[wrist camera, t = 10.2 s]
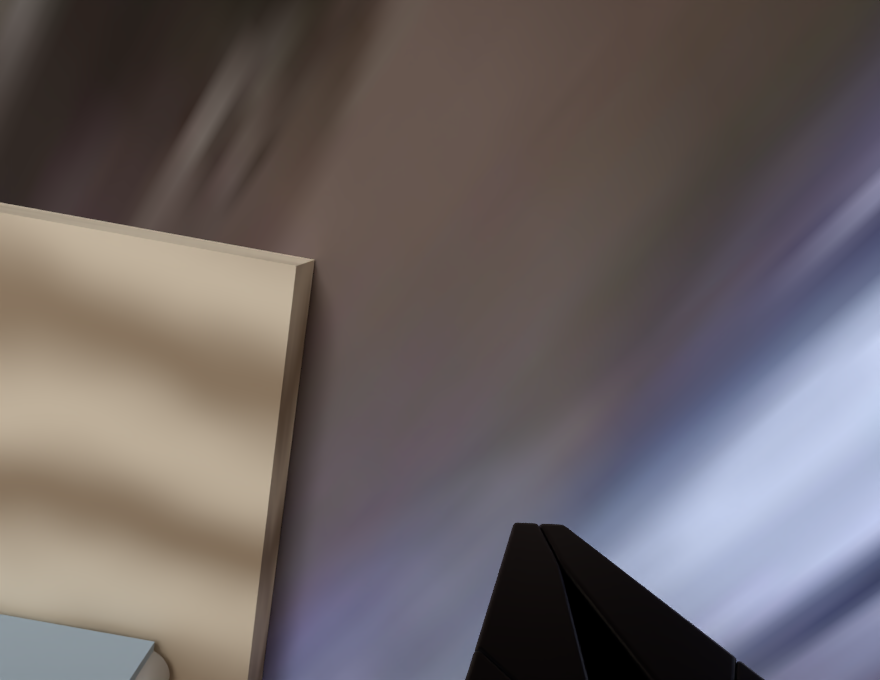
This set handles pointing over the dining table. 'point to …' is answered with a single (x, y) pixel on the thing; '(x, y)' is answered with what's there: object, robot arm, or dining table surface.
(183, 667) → the stool seat
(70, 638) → the hinged leg
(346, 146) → the dining table surface
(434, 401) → the dining table surface
